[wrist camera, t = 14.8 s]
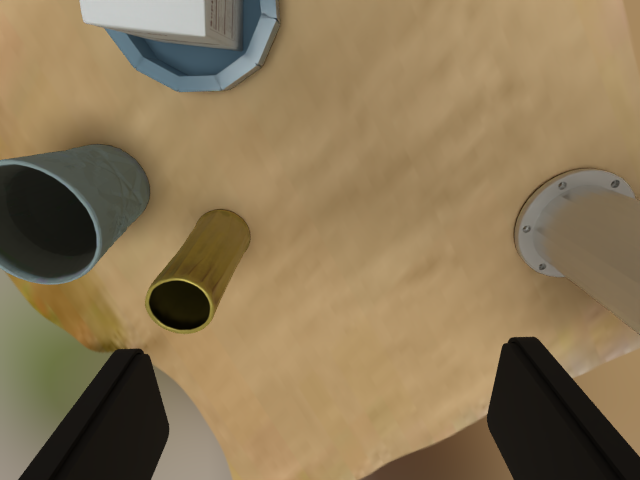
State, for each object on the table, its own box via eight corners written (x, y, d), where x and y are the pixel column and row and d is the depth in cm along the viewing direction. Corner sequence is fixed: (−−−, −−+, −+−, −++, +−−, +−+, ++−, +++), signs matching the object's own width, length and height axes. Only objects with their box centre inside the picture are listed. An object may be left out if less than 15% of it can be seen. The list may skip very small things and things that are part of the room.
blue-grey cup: (59, 125, 36) (-54, 145, 25) (163, 149, 37) (99, 179, 26) (63, 219, 40) (-33, 271, 29) (157, 238, 41) (99, 296, 30)
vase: (184, 227, 40) (121, 297, 27) (227, 198, 39) (183, 257, 26) (219, 267, 42) (176, 351, 29) (261, 241, 41) (236, 316, 28)
